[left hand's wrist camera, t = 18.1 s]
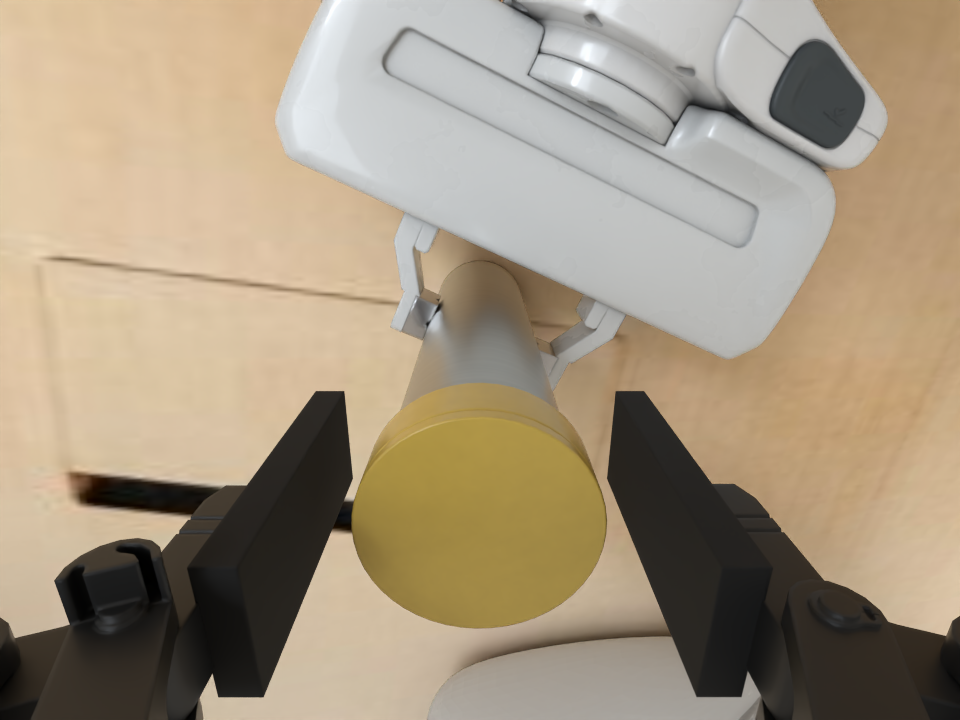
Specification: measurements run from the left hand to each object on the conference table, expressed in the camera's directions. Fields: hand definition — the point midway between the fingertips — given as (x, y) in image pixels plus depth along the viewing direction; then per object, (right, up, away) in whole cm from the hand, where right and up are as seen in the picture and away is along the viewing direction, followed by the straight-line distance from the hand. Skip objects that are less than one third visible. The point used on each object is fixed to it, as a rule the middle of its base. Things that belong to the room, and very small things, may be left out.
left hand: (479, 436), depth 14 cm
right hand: (0, +2, +8) cm, 9 cm away
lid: (0, -1, -3) cm, 4 cm away
